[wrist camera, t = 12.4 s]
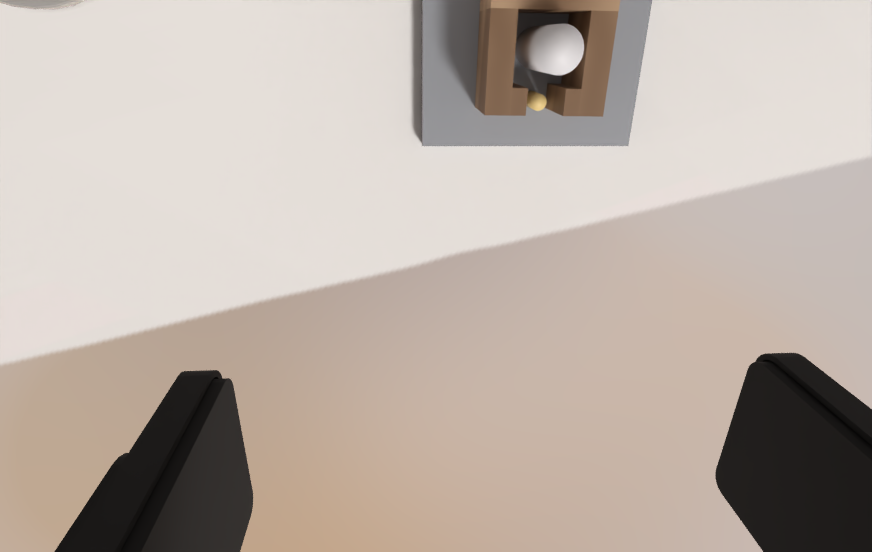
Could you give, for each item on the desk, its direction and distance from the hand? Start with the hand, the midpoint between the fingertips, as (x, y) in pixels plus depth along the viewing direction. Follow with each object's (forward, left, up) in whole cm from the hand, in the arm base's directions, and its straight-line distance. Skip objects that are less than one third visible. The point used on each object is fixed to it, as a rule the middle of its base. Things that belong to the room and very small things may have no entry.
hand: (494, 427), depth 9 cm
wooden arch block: (+7, +6, -27) cm, 29 cm away
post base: (+7, +6, -28) cm, 30 cm away
